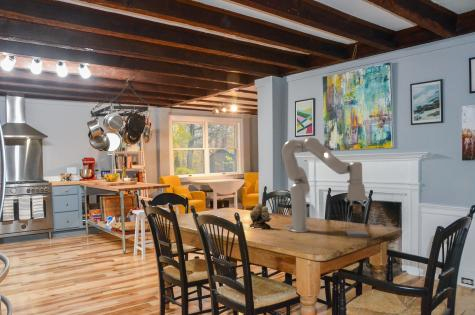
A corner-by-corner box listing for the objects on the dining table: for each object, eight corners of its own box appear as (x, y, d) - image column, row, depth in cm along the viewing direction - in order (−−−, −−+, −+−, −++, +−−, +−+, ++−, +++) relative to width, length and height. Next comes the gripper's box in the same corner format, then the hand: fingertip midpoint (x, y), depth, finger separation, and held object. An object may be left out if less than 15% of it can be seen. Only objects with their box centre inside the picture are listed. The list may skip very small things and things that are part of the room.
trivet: (348, 236, 224) (348, 233, 224) (345, 232, 235) (345, 230, 235) (369, 237, 221) (368, 234, 222) (365, 233, 233) (365, 230, 233)
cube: (353, 213, 227) (352, 204, 227) (352, 212, 231) (351, 204, 232) (361, 213, 226) (361, 204, 226) (360, 212, 231) (360, 204, 231)
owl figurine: (275, 227, 259) (275, 203, 259) (265, 230, 250) (265, 205, 250) (255, 225, 271) (255, 201, 271) (245, 227, 262) (244, 203, 262)
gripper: (342, 182, 227) (343, 212, 226) (371, 182, 224) (372, 212, 223) (341, 182, 234) (341, 211, 234) (369, 181, 231) (370, 211, 231)
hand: (356, 211), depth 229 cm, fingers closed on cube, 5 cm apart
